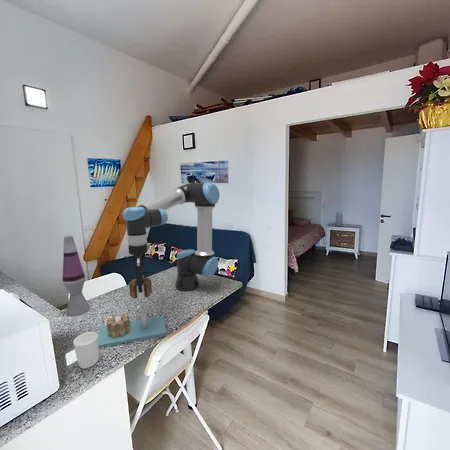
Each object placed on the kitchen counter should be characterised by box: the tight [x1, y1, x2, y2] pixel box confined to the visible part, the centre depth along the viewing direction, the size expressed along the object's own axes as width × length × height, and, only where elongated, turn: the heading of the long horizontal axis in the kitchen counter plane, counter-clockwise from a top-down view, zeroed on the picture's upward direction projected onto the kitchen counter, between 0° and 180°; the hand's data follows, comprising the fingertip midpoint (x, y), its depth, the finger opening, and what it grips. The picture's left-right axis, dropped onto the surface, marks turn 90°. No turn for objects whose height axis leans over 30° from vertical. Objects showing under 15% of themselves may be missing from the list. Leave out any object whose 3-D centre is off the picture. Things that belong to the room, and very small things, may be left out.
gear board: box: [97, 311, 167, 349], centre depth 110 cm, size 28×14×8 cm, turn 108°
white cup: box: [73, 331, 100, 370], centre depth 93 cm, size 8×8×10 cm
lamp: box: [61, 234, 91, 317], centre depth 126 cm, size 11×11×40 cm
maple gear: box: [106, 313, 130, 338], centre depth 109 cm, size 9×9×6 cm
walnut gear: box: [128, 277, 153, 300], centre depth 108 cm, size 9×9×6 cm
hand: (141, 293), depth 109 cm, fingers closed on walnut gear, 9 cm apart
